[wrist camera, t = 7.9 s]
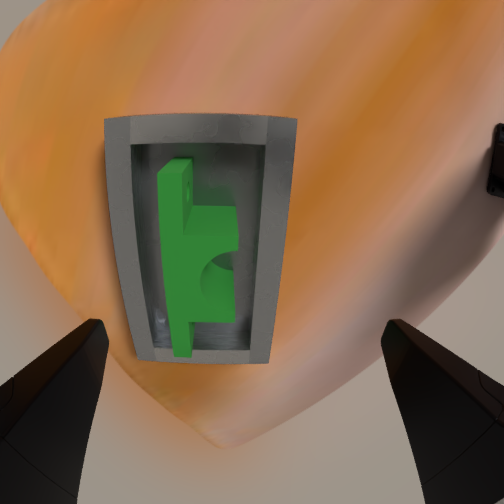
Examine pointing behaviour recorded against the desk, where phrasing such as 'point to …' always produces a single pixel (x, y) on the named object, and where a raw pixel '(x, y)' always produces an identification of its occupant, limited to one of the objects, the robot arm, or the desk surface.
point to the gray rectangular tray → (204, 194)
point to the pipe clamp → (193, 255)
